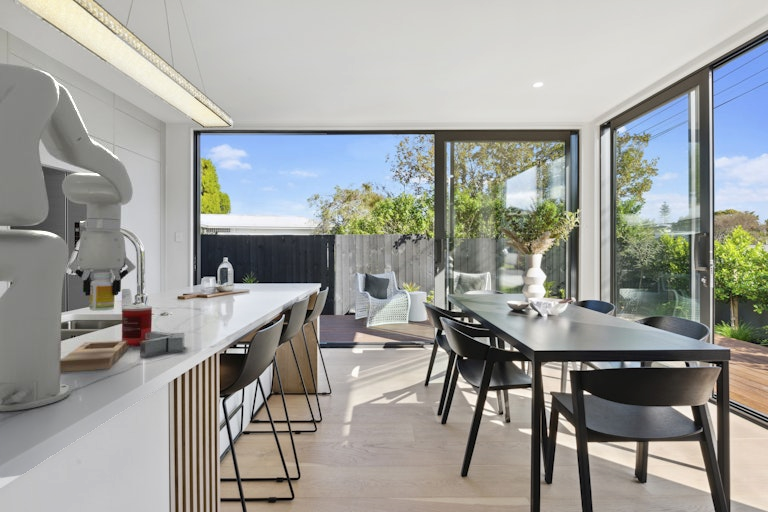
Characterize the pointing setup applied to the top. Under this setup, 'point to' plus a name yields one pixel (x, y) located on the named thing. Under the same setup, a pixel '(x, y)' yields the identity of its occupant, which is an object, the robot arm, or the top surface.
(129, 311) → the canned food
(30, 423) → the top surface
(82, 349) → the wooden board with cutout
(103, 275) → the supplement bottle
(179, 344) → the v block
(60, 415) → the top surface
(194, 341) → the top surface
